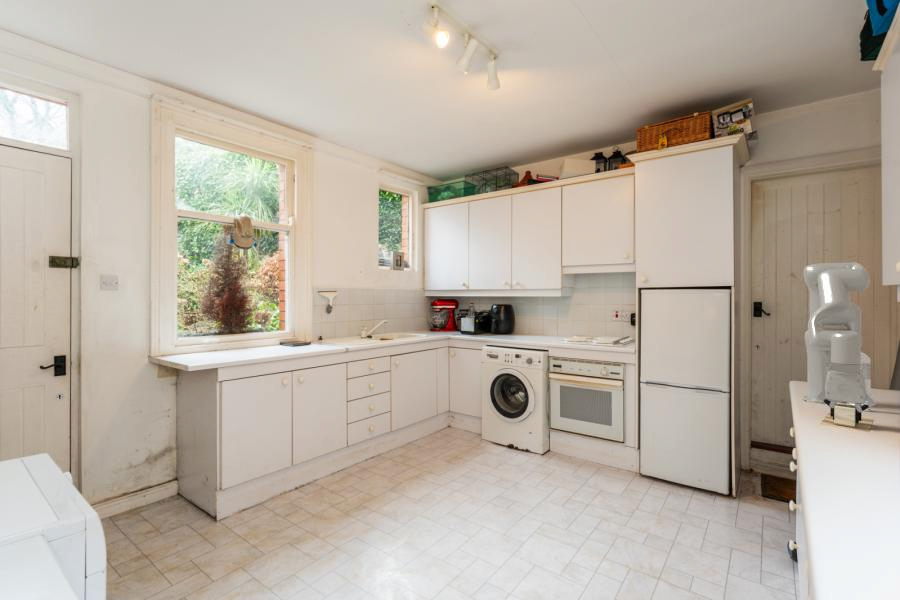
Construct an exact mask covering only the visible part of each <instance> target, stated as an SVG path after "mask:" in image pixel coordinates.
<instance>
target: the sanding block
mask: <svg viewBox="0 0 900 600" xmlns="http://www.w3.org/2000/svg"><path fill="white" fill-rule="evenodd" d="M855 412H856V406H855V405H851V404H846V403H845V402H842V403H837V404H836V405H835V406H834V424H838V425H844V426H850V427H855V426H856V423H855Z"/></svg>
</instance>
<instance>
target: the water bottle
mask: <svg viewBox="0 0 900 600" xmlns="http://www.w3.org/2000/svg"><path fill="white" fill-rule="evenodd" d="M862 349H863V348H862V347H861V373H863V374H864V377H865V383H866V393H867V394H868V395H869V396H870V397H871V395H872V394H871V393H872V390H871V389H872V387H871V386H872V383H871V381H872V380H871V361H872V360H871V358H870V357H869V355H867V354H866V353H864V352H862ZM871 398H872V397H871ZM867 403H869V402H868V401H867V400H866V402H865V403H863V404H861V406H863V405H864V404H867ZM845 404H851V405H855V403H848V402H845ZM871 411H872V406H871V407H869V408H867V409H865V410H864V411H863V412H871Z"/></svg>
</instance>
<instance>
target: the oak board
mask: <svg viewBox="0 0 900 600" xmlns="http://www.w3.org/2000/svg"><path fill="white" fill-rule="evenodd" d="M874 420H875V418H873V417H865V416H862V420H861V421H859V423H858V424H856V426H855V427H850V426H844V425H838V424H834V420H833V417H831V416H830V411H829V412H828V413H827V414H826V415H825V417H824V418H823V420H822V421H820V425H824V426H830V427H835V428H836V427H838V428H842V429H848V430H849V429H850V430H853V431H854V430H855V431H861V432H867V433H870V431H871V428H872V425H873V423H874Z"/></svg>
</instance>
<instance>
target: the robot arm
mask: <svg viewBox="0 0 900 600" xmlns="http://www.w3.org/2000/svg"><path fill="white" fill-rule="evenodd" d="M802 276H803V280H804V282H805V284H806V286H807V289H808V292H809V319H808V321H807V330H806V331H805V333H804V342H805V349H806V358H807V359H806V360H807V362H806V363H807V364H806V365H807V366H806V367H807V369H806V371H807V372H806V373H807V380H806V381H807V384H806V385H807V387H806V388H807V391H806V392H807V393H806V394H807V395H804V396H802V400H803V399H804V400H803V401H805V400H806V401H805V402H808V401H809V402H808V403H812V402H814V403H813V404H819V403H820V404H821V405H826V404H827V406H828V407H829V408H830V411H829V412H830V416H831V417H833V420H834V406H835V405H836V404H837V403H847V402H848V403H855V406H856V412H855V423H856V424H858V423H859V421H861V420H862V417H863V416H862V412H865V411H864V410H865V409H867V408H869V407H871V408H872V407H874V406H876V404H877V402H876V401H875V400H874V399H873V398H872V397H870V396H869V395H868V394H867V393H866V383H865V377H864V374H863V373H861V352H862V350H861V348H862V347H863V337H862V311H861V308H860V307H859V305H858V304H856V303H854V302H851V295H850V292H856V291H857V292H863V291H864V292H865V291H866V290H868V289H869V288H870V287H869V286H870V284H871V278H870V274H869V273H868V270H867V269H866V268H865V267H864V266H863V265H862V264H861V263H859V262H855V261H853V262H850V261H848V262H823V263H821V262H820V263H812V264H808V265H806V266H805V267H804V268H803V275H802ZM819 325H820V326H844V328H840V327H838V328H836V327H818V326H819ZM866 400H867V401H868V402H869V403H867V404H864V405H863V406H861V404H863V403H865V402H866Z"/></svg>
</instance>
